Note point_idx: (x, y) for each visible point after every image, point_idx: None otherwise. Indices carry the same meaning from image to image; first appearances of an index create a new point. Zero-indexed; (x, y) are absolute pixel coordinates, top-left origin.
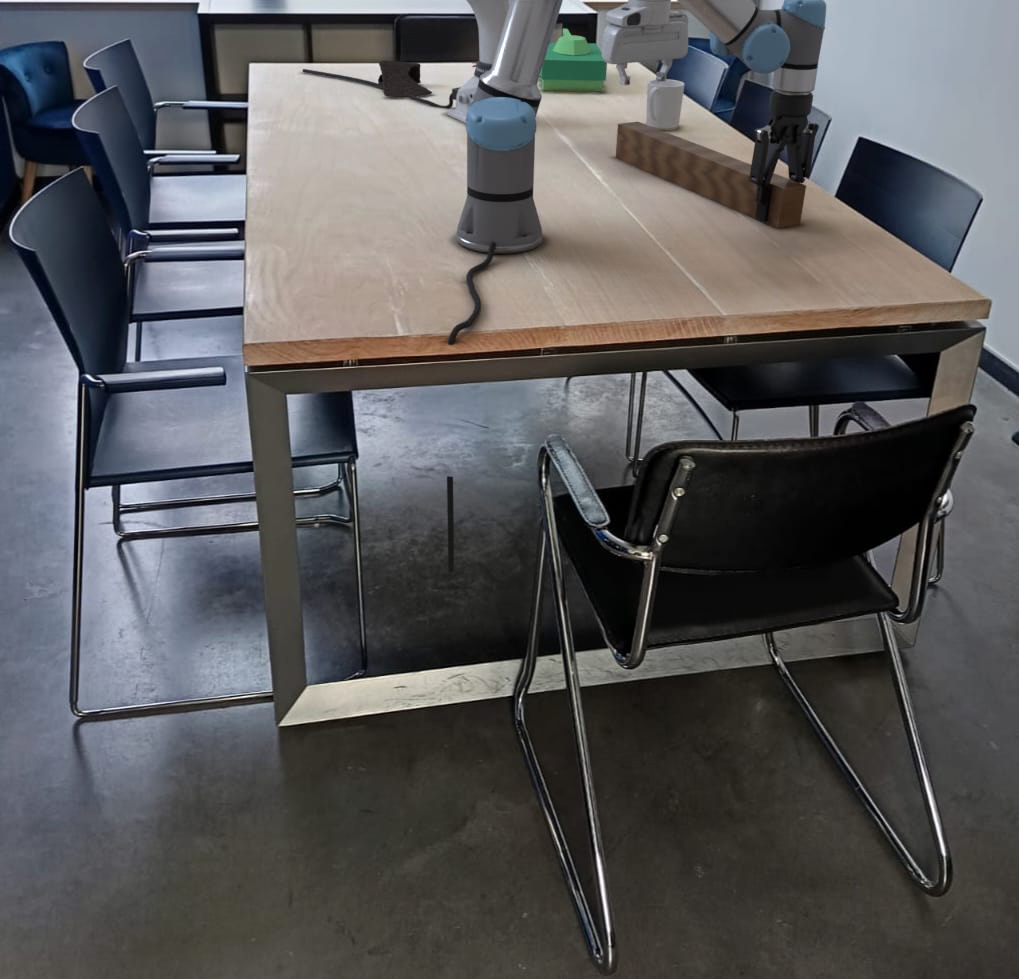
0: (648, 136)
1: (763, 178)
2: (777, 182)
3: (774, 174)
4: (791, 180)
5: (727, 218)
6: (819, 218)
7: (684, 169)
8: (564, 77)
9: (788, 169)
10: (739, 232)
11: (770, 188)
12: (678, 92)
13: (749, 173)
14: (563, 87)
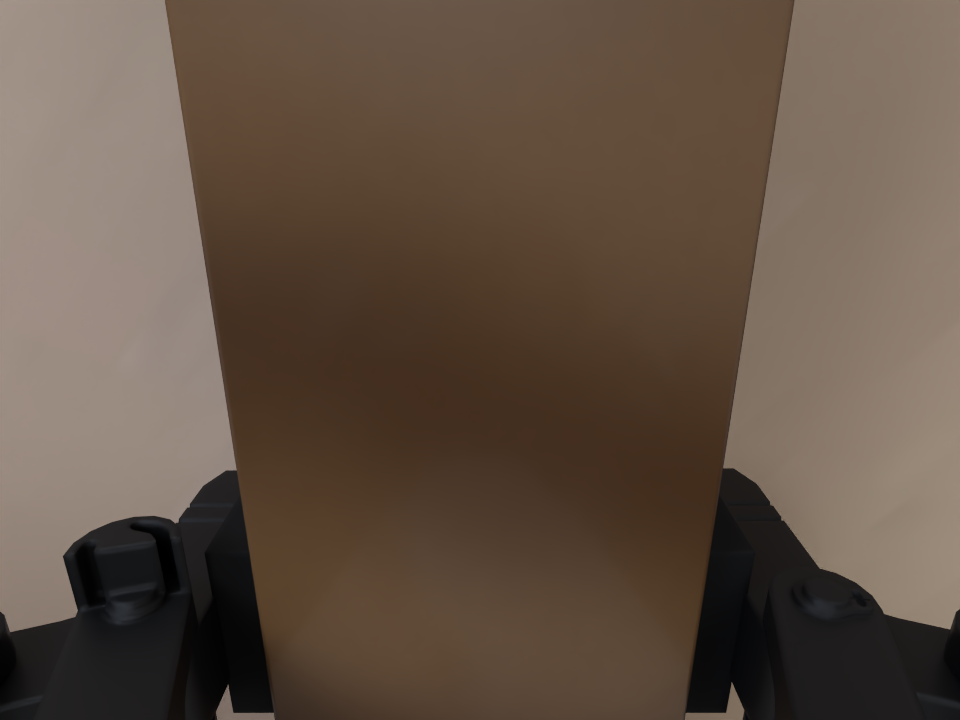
0: None
1: (184, 664)
2: (403, 705)
3: (682, 388)
4: (659, 713)
5: (122, 209)
6: (833, 522)
7: None
8: None
9: (785, 701)
10: (51, 520)
11: (258, 703)
12: None
13: (277, 119)
14: None
